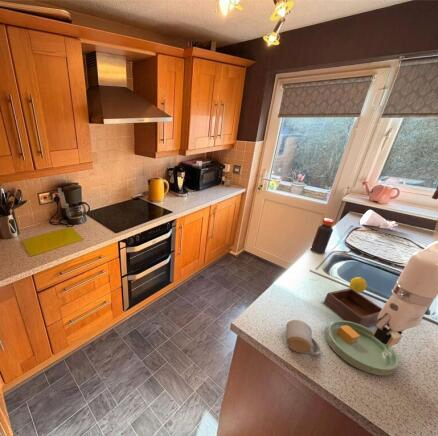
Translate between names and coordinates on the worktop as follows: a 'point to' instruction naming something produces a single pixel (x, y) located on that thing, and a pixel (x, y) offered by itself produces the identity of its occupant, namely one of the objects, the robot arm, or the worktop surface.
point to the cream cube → (392, 337)
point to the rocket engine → (376, 220)
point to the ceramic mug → (300, 337)
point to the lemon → (358, 284)
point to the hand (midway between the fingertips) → (385, 338)
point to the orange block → (348, 334)
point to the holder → (353, 307)
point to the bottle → (322, 236)
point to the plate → (363, 349)
